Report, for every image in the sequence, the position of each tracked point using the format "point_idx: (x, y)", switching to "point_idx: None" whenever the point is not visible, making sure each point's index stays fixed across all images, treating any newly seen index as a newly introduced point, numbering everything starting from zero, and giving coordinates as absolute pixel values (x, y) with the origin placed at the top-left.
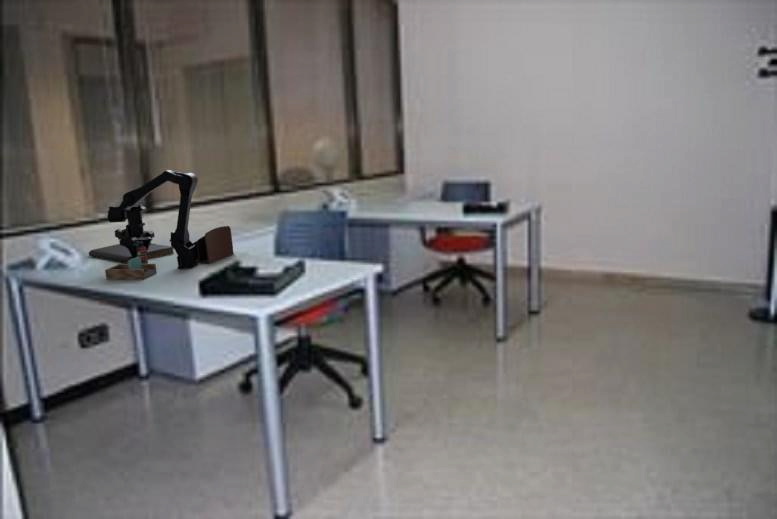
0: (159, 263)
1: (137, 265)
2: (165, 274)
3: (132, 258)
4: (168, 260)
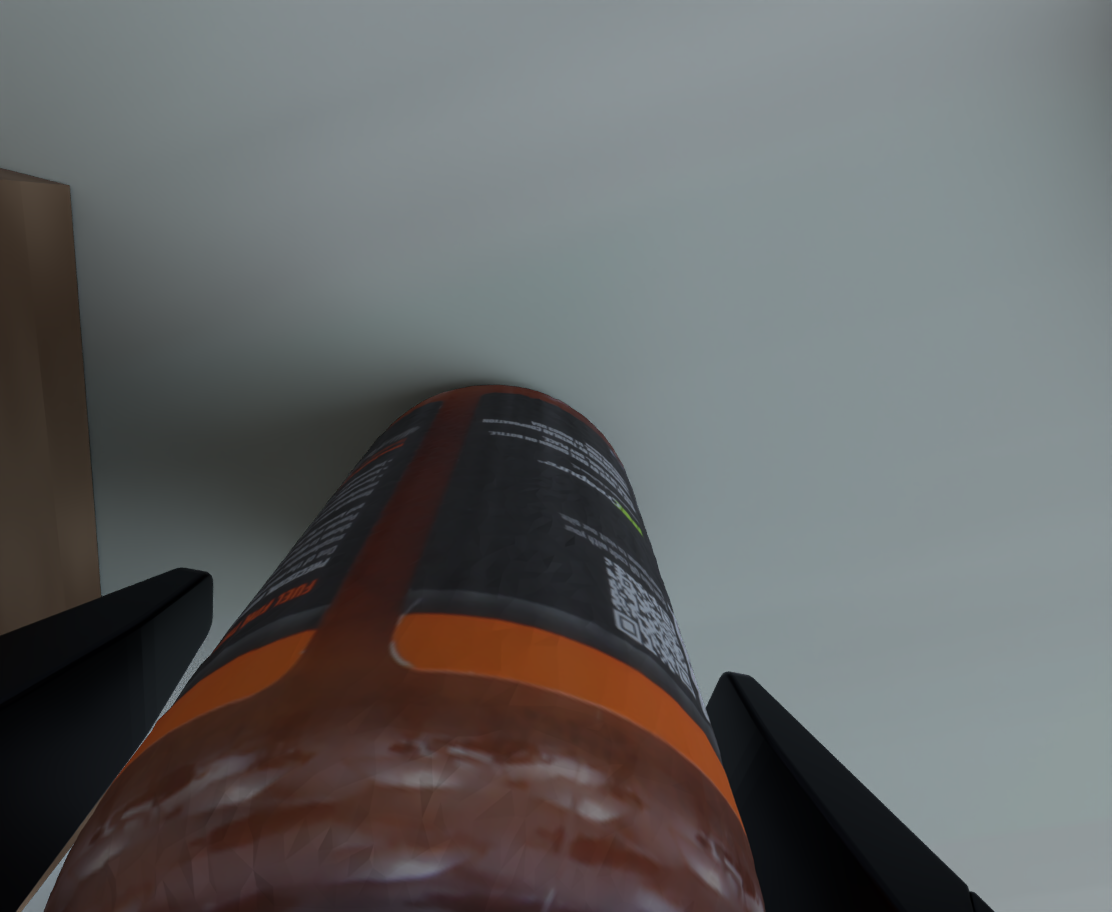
0: (817, 691)
1: None
2: (50, 883)
3: (378, 486)
4: (987, 761)
